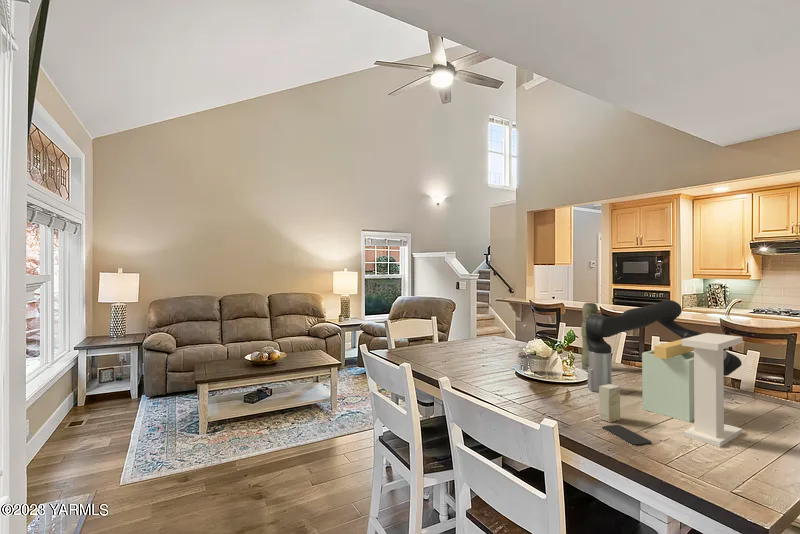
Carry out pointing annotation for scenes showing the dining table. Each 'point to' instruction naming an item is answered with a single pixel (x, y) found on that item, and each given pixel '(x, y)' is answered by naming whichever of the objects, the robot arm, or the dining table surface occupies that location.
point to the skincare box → (609, 402)
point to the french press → (523, 356)
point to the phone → (627, 435)
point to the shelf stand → (710, 389)
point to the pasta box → (671, 349)
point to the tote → (668, 385)
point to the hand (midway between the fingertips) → (697, 335)
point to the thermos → (587, 311)
